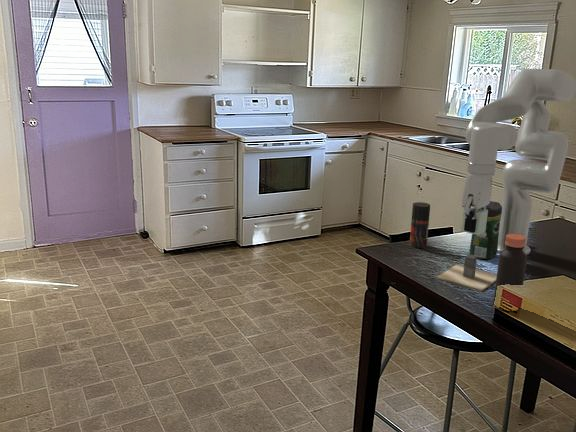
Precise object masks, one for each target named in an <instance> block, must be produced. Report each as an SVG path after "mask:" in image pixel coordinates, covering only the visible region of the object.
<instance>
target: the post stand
mask: <svg viewBox="0 0 576 432" xmlns="http://www.w3.org/2000/svg"><path fill="white" fill-rule="evenodd" d="M477 260H478V258H477V256H474V255H470V254H467V255H465V257H464V265H462V264H458V263H457V264H455V265H453V266H452V267H451V268H449V269H447V270H446V271H444V272H442V273H440V274H439V275H436V279H437V280H442V281H445V282H448V283H451V284H455V285H458V286H462V287H464V288H468V289H471V290H474V291H479V292H483V291H484V290H485V289H486V290H487V288H489V287H490V286H491V285H493V284H494V283H496V278H497V273H496V274H495V273H491V272H489V271H484V270H480V269H476V268H477Z"/></svg>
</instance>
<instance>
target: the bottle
mask: <svg viewBox="0 0 576 432" xmlns="http://www.w3.org/2000/svg"><path fill="white" fill-rule="evenodd" d="M525 241H526V237H524V236H522V235H518V234H507V235H506V238H505V246H506V248H505V249H504V250H502V251H501V252H500V253H499V257H498V263H497V264H498V265H497V271H496V275H497V278H496V281H495V286H494V287H495V288H494V295H493V302H492V305H493V306H494V301H495V297H496V290H497V286H498V285H505V284H510V285H523V286H524V282H525V273H526V268H527V267H526V266H527V259H528V255H526V254H525V253H524V252H523V248H524V246H525Z"/></svg>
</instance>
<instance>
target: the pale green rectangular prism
mask: <svg viewBox="0 0 576 432" xmlns="http://www.w3.org/2000/svg"><path fill="white" fill-rule="evenodd" d="M471 208H474V206H471ZM471 211H472V213H473V212H474V211H473V210H471ZM487 215H488V210H486V209H481V208H480V209H478V210H477V214H476V218H475V219H477V221H476V229H475V232H474V233H472V232H468V231H464V225H465V212H464V210H463V212H462V220H461V228H460V229H461V232H464V233H466V234H467V233H468V234H471V235H472V234H475V235H479V234H481V233H483V232H485V231H486V223H487Z"/></svg>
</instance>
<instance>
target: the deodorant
mask: <svg viewBox="0 0 576 432" xmlns="http://www.w3.org/2000/svg"><path fill="white" fill-rule="evenodd" d="M430 213H431V204H430V203H428V202H422V201H419V202H413V203H412V210H411V219H410V220H411V221H410V235H409V236H410V237H409V246H410V247H411V248H415V249H424V248H427V245H428V236H429V235H428V234H429V224H430Z"/></svg>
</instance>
